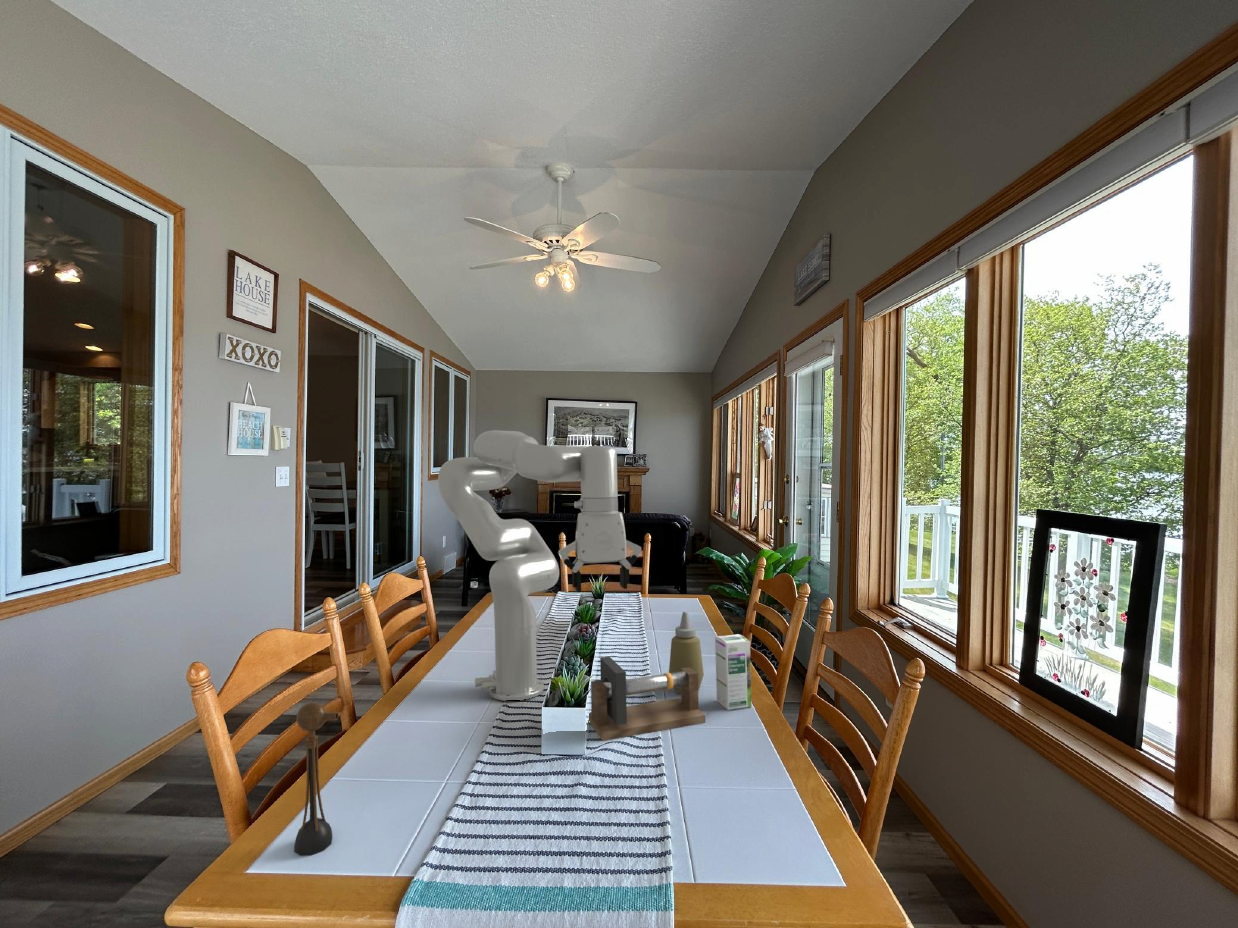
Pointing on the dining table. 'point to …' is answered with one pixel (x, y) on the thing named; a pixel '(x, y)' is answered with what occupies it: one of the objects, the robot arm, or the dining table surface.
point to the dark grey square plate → (615, 689)
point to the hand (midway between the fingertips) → (601, 589)
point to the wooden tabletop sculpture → (313, 783)
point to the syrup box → (733, 671)
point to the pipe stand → (648, 705)
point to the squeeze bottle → (686, 650)
